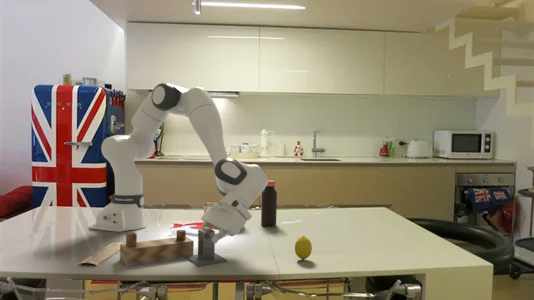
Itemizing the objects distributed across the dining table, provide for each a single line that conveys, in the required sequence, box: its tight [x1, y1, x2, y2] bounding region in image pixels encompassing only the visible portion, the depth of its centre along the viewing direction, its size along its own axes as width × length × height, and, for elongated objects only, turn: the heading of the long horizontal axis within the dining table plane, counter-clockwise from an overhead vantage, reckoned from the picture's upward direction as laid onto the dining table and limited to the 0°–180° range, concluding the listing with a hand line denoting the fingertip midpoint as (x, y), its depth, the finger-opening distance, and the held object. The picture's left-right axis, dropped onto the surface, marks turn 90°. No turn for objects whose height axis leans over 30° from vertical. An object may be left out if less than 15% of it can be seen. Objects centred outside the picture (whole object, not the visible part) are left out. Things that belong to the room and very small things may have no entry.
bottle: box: [260, 179, 278, 228], centre depth 189 cm, size 7×7×20 cm
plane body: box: [119, 229, 195, 267], centre depth 137 cm, size 22×7×9 cm, turn 123°
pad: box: [185, 252, 228, 267], centre depth 137 cm, size 10×10×1 cm
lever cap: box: [197, 227, 216, 260], centre depth 137 cm, size 4×4×10 cm
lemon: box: [294, 235, 313, 261], centre depth 139 cm, size 6×6×8 cm
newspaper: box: [77, 241, 126, 267], centre depth 140 cm, size 24×7×2 cm, turn 177°
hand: (206, 238), depth 136 cm, fingers open, 8 cm apart
